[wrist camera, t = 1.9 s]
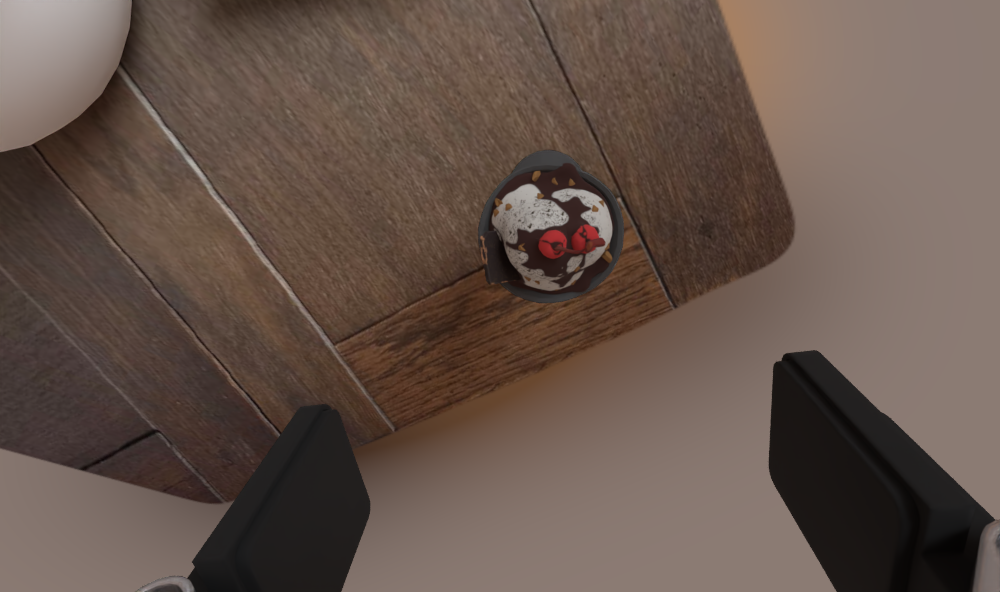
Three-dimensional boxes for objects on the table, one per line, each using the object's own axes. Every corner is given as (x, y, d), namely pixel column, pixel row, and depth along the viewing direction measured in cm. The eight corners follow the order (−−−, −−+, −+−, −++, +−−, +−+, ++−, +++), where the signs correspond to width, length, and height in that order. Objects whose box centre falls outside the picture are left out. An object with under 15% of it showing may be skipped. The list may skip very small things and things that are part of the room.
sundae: (616, 153, 31) (676, 219, 18) (577, 252, 34) (602, 374, 20) (514, 119, 31) (494, 159, 17) (483, 221, 34) (444, 326, 20)
